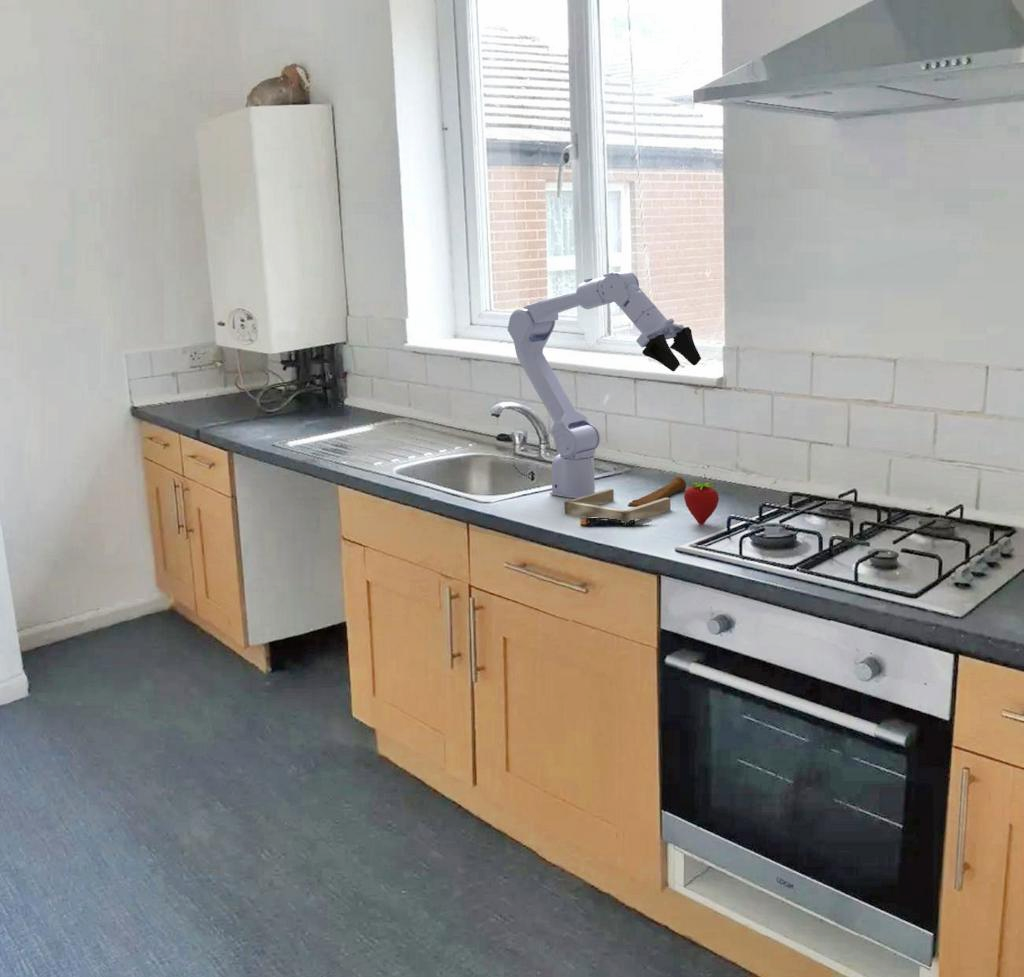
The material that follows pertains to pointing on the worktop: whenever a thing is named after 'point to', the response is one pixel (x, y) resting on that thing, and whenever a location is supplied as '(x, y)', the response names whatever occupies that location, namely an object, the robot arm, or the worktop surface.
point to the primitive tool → (661, 492)
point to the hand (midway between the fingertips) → (687, 365)
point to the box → (589, 508)
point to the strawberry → (701, 500)
